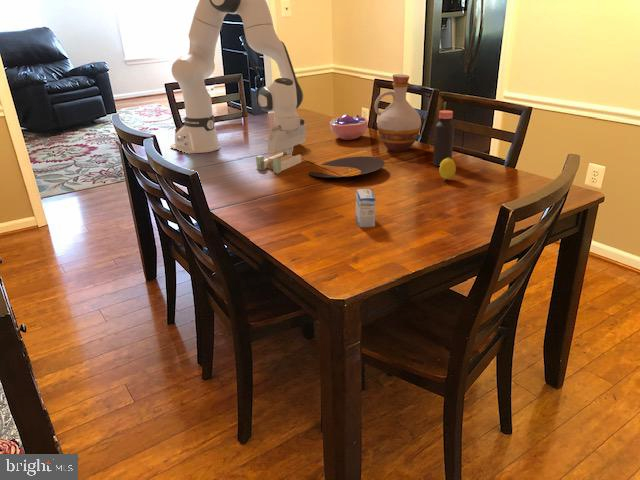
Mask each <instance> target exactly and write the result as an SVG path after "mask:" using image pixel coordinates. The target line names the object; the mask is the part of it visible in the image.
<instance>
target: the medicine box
mask: <svg viewBox="0 0 640 480" xmlns="http://www.w3.org/2000/svg"><path fill="white" fill-rule="evenodd" d="M376 203H377V202H376V197H375V195H374V194H373V190H372V189H371V188H360V189H356V191H355V218H356V221H357V224H358V226H359V228H375V226H376Z"/></svg>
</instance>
